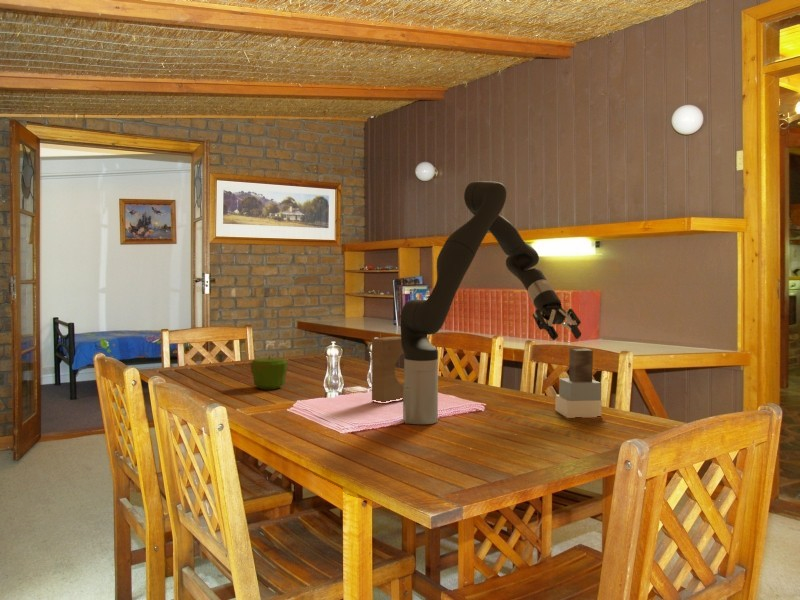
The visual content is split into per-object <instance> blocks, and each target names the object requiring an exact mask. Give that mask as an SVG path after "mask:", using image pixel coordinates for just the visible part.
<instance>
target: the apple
mask: <svg viewBox="0 0 800 600" xmlns="http://www.w3.org/2000/svg"><path fill="white" fill-rule="evenodd" d="M250 371H251V374H252V379H253V383H254V386H256V387H257V388H258V389H261V390H268V391H269V390H277V389H279V388H280V387H282V386H284V385H285V383H286V374H287V371H288V361H287V360H285V359H284V358H278V357H270V356H268V357H262V358H256V359H253V361H251V363H250Z"/></svg>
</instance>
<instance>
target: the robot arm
mask: <svg viewBox="0 0 800 600" xmlns="http://www.w3.org/2000/svg"><path fill="white" fill-rule="evenodd" d="M463 196H464V197H463V199H464V203H465V206H466V207H467V209H468V210H469V211H470V212H471V214H473V217H472V218H471V219H469V220H468V221H467V222H466V223H464V224H463V225H462V226H460V227H459V228H457V229H456V230H455V231H453V232H452V233H451V234H450V235H449V236H448V237H447V238H446V240H445V242H444V243H443V246H442V248H441V249H440V251H439V254H438V255H437V258H436V281H435V282H436V283H435V285H434V287H433V288H432V291H431V293H430V295H429V296H428V297H427V299H412V300H408V301H406V303H405V304H404V305H403V306H402V309H401V312H400V318H399V319H400V322H399V324H400V337H401V345H402V349H403V351H404V354H403V355H404V357H403V359H404V362H403V363H404V365H403V369H404V371H403V372H404V373H403V380H404V381H403V384H404V385H403V400H402V409H403V410H402V420H403V419H404V420H403V422H404V423H405V424H412V425H433V424H436V423H437V422H438V420H439V419H438V417H439V413H438V412H439V410H438V406H439V350H438V348H437V347H436V346H435V345H433V344H432V343H431V342H430V340H429V338H428V335H435V334H437V333H438V332H439V331H440V330H441V328H442V327H443V326H444V324H445V321H446V319H447V317H448V314H449V311H450V309H451V306H452V303H453V301H454V298H455V296H456V293H457V292H458V289H459V287H460V285H461V283H462V282H463V279H464V277H465V276H466V273H467V271H468V269H469V268H470V266H471V264H472V262H473V260H474V258H475V257H476V254H477V252H478V250H479V247H480V246H481V244H482V242H483V241H484V239H485V237H486V235H487V233H488V232H489V233H491V235H492V236H493V237H494V239H495V240H496V242H497V243H498V245H499V246H500V248H501V250H502V251H503V253H504V254H505V255H507V257H506V260H505V266H506V268H507V270H508V271H509V272H510V273H511V274H513V276H515V277H516V278H517V279H518V280H519V281H520V282H521V283H522V285H523V287H524V289H525V290H526V292H527V294H528V296H529V299H530V300H531V303H532V304H533V306H534V308H535V310H534V313H533V314H532V317H533V320H534V321H535V323H536V326H537V327H538V329H539V330H545V331H546V332H547V334H548V336H549V337H550V338H551V340H553V341H556V340H557V339H558V337H559V334H558V333H557V331H556V329H555V327H554V326H553V325H561V326H562V327H564V328H565V327H566V328H568V329H569V330H570V333H572V335H573V337H574V339H576V340H579V339H580V337H581V336H582V332H581V330H580V329H579V325H580V324H581V323H582V322H581V320H580V318H579V317H578V316H577V314H576V312H575V311H574V309H572V308H569V309H568V310H565V309H564V308H563V307H562V301H561V300H560V298H559V296H558V295H557V292H556V291H555V290H554V288H553V286H552V284H550V282H549V281H548V280H547V278H546V276H545V275H544V273H543V272H542V270H541V269H539V268H536V267H535V266H537V264H538V263H539V261H540V257H539V254H538V251H536V249H534V247H532V246H531V245H529V244H528V243H527V242H526V241H525V240H524V239H523V238H522V236H521V234H520V233H519V231H518V230H517V228H516V227H515V225H513V224H512V223H511V222H510V221H509V220H507V219H506V217H504V216H502V215H501V212H502V210H503V208H504V206H505V203H506V201H507V189H506V186H505V185H504V184H503V183H501V182H498V181H487V180H486V181H484V180H483V181H482V180H479V181H478V180H476V181H471V182H470V183H469V184H467V186H466V187H465V190H464V194H463ZM534 267H535V268H534ZM565 320H566V321H565Z"/></svg>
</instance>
